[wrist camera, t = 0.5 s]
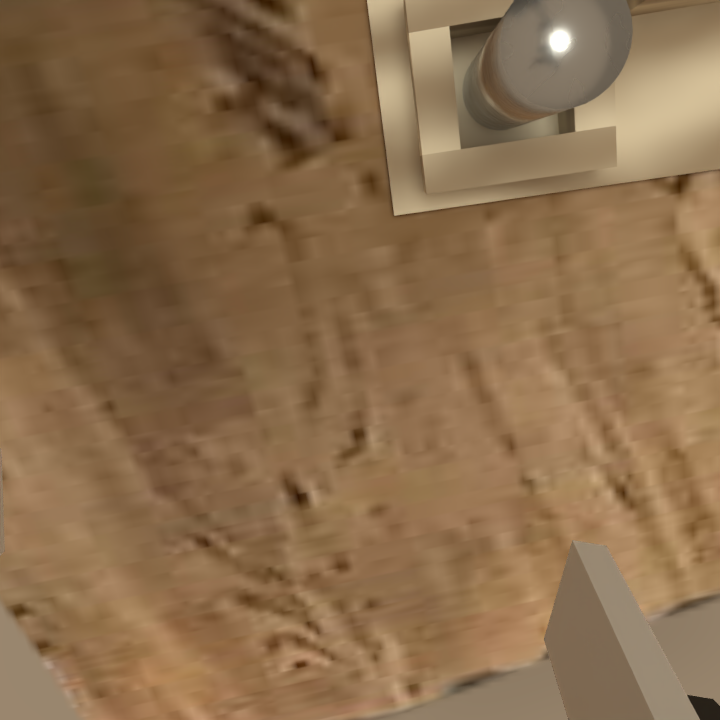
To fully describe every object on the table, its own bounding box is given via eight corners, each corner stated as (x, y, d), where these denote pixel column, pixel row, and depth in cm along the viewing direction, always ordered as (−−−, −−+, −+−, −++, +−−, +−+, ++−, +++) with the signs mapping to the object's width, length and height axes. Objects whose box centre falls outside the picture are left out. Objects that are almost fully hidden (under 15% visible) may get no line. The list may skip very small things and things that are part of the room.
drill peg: (458, 51, 34) (495, -21, 21) (540, 37, 34) (631, -46, 21) (466, 136, 36) (505, 118, 22) (545, 123, 35) (634, 98, 22)
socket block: (355, -92, 33) (347, -143, 28) (760, -170, 31) (837, -242, 26) (394, 214, 38) (393, 223, 32) (749, 163, 36) (813, 163, 30)
